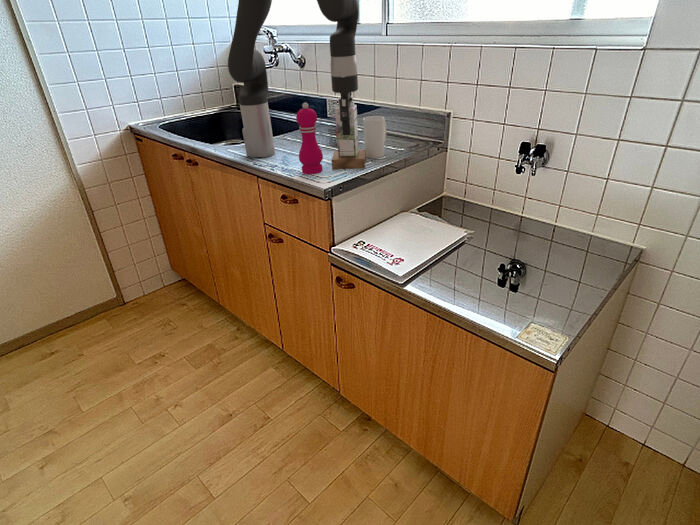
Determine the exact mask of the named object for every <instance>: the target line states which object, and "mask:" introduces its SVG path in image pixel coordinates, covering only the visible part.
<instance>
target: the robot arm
mask: <svg viewBox="0 0 700 525" xmlns="http://www.w3.org/2000/svg"><path fill="white" fill-rule="evenodd" d="M316 2H317V4H318V8H319V10H320V12H321V14H322V15H323V16H324V17H325V18H326V20H328V21H330V22H333V23H336V22H337V23H336V28H335V29H336V30H335V32H333V33H331V34H330V36H329V52H330V53H329V55H330V62H329V63H330V64H329V65H330V77H331V90H332V92H333V93H336V94H340V97H339V98H338V105H339V112H340V120H341V122H342V131H343V135H350V115H351V106H352V105H354V98H353V97H352V95H353V94H352V93H354V92H357V91H358V89H359V84H358V83H359V80H358V63H357V57H356V34H357V29H358V28H357V27H358V21H359V13H360V12H359V11H360V10H359V8H360V7H359V3H358V2H359V1H358V0H316ZM272 3H273V0H238V4H237V12H236V18H235V26H234V31H233V36H232V41H231V46H230V49H229V53H228V59H227V70H228V73H229V75H230V77H231V78H232V80H234V81H235V82H237V83H241V84H242V83H243V88H242V90H241V92H240V93H239V95H238V103H239V108H240V114H241V119H242V125H243V128H242V136H243V142H244V148H245V153H246V157H247V156H252V157H262V158H268V157H271V156H273V155H275V154H276V149H275V143H274V137H273V129H272V122H271V121H272V120H271V115H270V108H269V103H268V96H269V84H268V74H267V73H268V72H267V71H268V70H267V65H266V61H265V58H264V56H263V55H262V54H261V52H260V51H259V50H257V49H255V47H256V43H257V39H258V36H259V33H260V31H261V29H262V27H263V25H264V23H265V22H266V20H267V17H268V15H269V13H270V10H271V7H272V6H271V5H272ZM343 115H347V117H343ZM252 157H251V158H252Z"/></svg>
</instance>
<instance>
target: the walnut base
mask: <svg viewBox="0 0 700 525" xmlns="http://www.w3.org/2000/svg"><path fill="white" fill-rule="evenodd" d="M366 161H367V157H366V150H365V149H359V152H358V154H357V156H356V157H339V156H338V150H334V151H333V155H332V158H331V169H332V170H333V171H334V170H357V169H358V170H359V169H361V170H362V169H365V168H366Z"/></svg>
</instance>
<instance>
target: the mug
mask: <svg viewBox="0 0 700 525" xmlns="http://www.w3.org/2000/svg"><path fill="white" fill-rule="evenodd" d="M362 124H363V125H362V127H363V139H364V140H363V143H364V150H366V159H372V160H373V159H381V158H383V157H384V156H385V144H386V138H387V125H386V121H385V117H384V116H381V115H380V116H379V115H378V116H377V115H372V116H366V117H363V118H362Z"/></svg>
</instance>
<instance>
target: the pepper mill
mask: <svg viewBox="0 0 700 525" xmlns="http://www.w3.org/2000/svg"><path fill="white" fill-rule="evenodd" d="M301 105H302V108H301V109H299V110H298V111H297V113H296V122H297V124H298V125H299V127H298V128H299V133H300V134H301V140H302V141H301V146H300V149H299V153H298V160H299V162H300V164H302V165H301V173H302V174H303V175H304V174H305V175H309V174H310V175H316V174H317V175H318V174H321V173H322V172H323V164H322V163H321V162H322V161H323V159H324V155H323V152H322V149H321V148H320V146H319V144H318V142H317V138H316V132H317V130H318V129H317V125H316V123H317V122H318V114H317V112H316V111H315V110H314V109H313V108H310V107H309V103H308V102H303V103H302V104H301Z"/></svg>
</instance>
